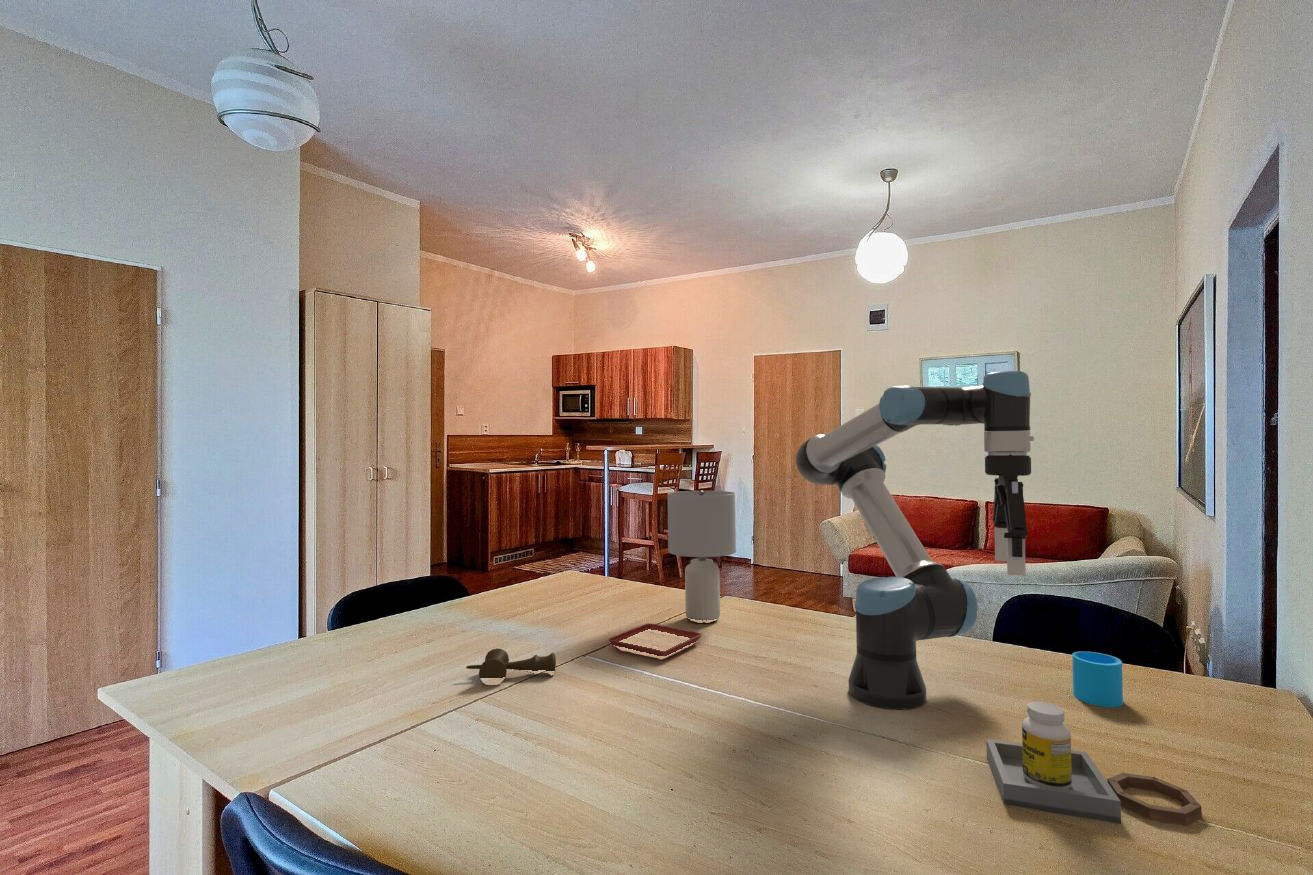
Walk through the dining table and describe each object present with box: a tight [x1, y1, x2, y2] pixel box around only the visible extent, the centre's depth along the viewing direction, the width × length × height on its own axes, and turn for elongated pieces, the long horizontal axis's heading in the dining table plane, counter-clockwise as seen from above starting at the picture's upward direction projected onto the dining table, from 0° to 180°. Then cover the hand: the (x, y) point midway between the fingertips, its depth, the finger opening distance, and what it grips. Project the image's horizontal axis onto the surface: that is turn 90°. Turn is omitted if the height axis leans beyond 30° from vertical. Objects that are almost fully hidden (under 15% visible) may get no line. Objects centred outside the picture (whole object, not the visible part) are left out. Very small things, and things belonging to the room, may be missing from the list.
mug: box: [1071, 651, 1124, 708], centre depth 124 cm, size 12×8×8 cm
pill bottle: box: [1021, 701, 1072, 790], centre depth 91 cm, size 6×6×11 cm
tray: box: [985, 738, 1122, 825], centre depth 91 cm, size 14×14×3 cm
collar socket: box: [1106, 772, 1203, 827], centre depth 87 cm, size 10×10×2 cm
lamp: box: [667, 489, 737, 621], centre depth 183 cm, size 20×20×39 cm
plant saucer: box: [607, 623, 703, 656], centre depth 158 cm, size 18×18×3 cm
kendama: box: [465, 648, 557, 679], centre depth 138 cm, size 6×10×20 cm
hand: (1009, 567), depth 113 cm, fingers open, 13 cm apart
